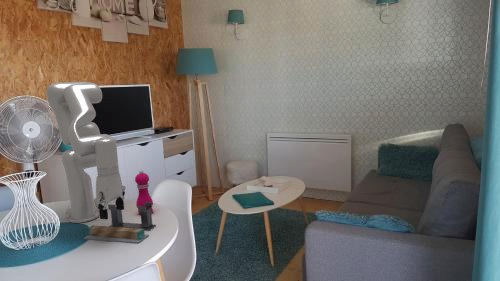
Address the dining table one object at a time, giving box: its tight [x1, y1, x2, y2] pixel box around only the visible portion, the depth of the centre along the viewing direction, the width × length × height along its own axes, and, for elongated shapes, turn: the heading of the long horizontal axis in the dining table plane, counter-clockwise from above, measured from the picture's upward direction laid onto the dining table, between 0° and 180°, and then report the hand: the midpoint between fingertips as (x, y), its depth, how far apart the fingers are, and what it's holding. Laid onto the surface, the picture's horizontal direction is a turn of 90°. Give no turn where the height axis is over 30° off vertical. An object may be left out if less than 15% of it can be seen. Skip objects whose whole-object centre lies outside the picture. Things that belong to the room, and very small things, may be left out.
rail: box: [87, 224, 146, 240], centre depth 146 cm, size 23×3×3 cm, turn 73°
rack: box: [107, 200, 157, 232], centre depth 155 cm, size 19×5×10 cm, turn 73°
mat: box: [83, 233, 150, 245], centre depth 146 cm, size 24×7×1 cm, turn 73°
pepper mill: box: [134, 169, 154, 216], centre depth 171 cm, size 7×7×20 cm
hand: (112, 214), depth 146 cm, fingers open, 9 cm apart
